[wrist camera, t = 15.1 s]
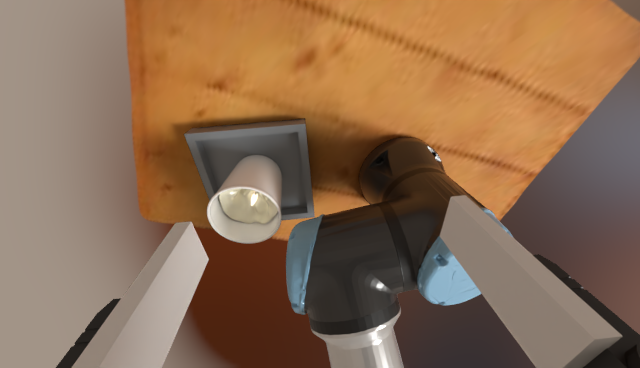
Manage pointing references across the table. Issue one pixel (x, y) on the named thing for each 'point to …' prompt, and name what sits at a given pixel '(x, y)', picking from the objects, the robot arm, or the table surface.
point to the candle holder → (248, 201)
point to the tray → (257, 139)
